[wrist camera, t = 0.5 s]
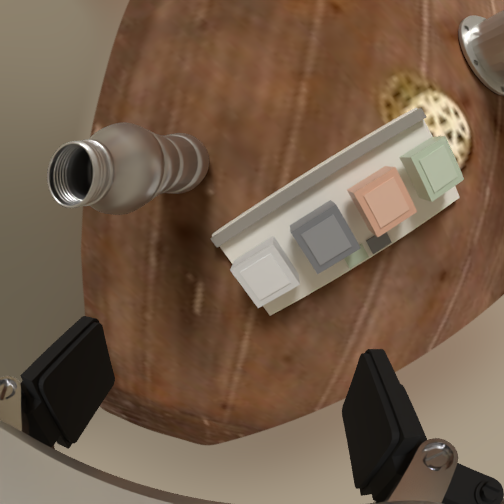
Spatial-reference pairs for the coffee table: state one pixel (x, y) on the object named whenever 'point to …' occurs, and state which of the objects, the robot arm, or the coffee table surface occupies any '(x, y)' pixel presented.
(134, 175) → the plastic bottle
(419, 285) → the coffee table surface
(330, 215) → the key charcoal
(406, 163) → the key sage
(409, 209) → the key terracotta
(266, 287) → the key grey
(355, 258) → the keyboard base
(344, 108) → the coffee table surface
